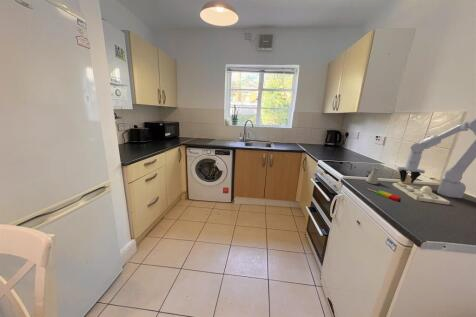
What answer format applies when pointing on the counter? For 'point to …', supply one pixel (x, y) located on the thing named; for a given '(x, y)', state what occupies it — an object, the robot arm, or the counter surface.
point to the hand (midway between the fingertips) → (406, 182)
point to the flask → (373, 176)
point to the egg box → (420, 194)
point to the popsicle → (387, 195)
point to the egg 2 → (426, 190)
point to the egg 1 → (407, 180)
